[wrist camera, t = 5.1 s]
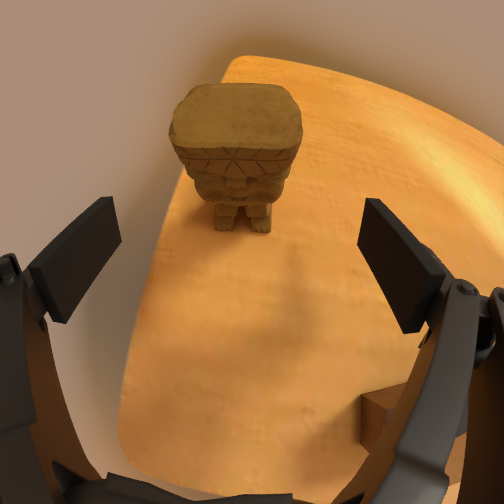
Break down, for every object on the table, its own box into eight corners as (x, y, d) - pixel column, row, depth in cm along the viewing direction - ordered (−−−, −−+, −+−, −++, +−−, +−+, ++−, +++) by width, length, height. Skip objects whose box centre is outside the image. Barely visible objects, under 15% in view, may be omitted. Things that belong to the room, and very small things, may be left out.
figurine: (206, 234, 27) (162, 147, 13) (212, 175, 29) (184, 66, 14) (278, 237, 27) (305, 150, 13) (279, 177, 29) (298, 67, 14)
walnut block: (360, 444, 22) (382, 467, 17) (360, 394, 24) (386, 410, 18) (409, 429, 22) (437, 446, 17) (411, 380, 24) (443, 390, 18)
